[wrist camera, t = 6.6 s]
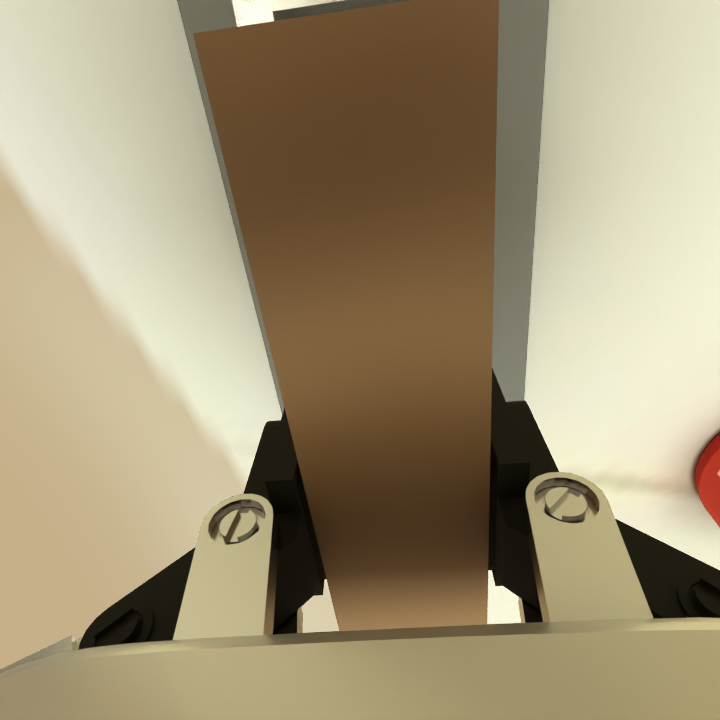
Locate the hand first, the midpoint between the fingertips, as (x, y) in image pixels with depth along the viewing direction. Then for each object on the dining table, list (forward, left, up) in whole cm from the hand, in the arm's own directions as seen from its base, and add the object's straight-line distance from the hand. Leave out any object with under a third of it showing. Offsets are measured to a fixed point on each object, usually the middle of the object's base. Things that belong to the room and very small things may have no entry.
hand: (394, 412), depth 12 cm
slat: (0, 0, 0) cm, 0 cm away
